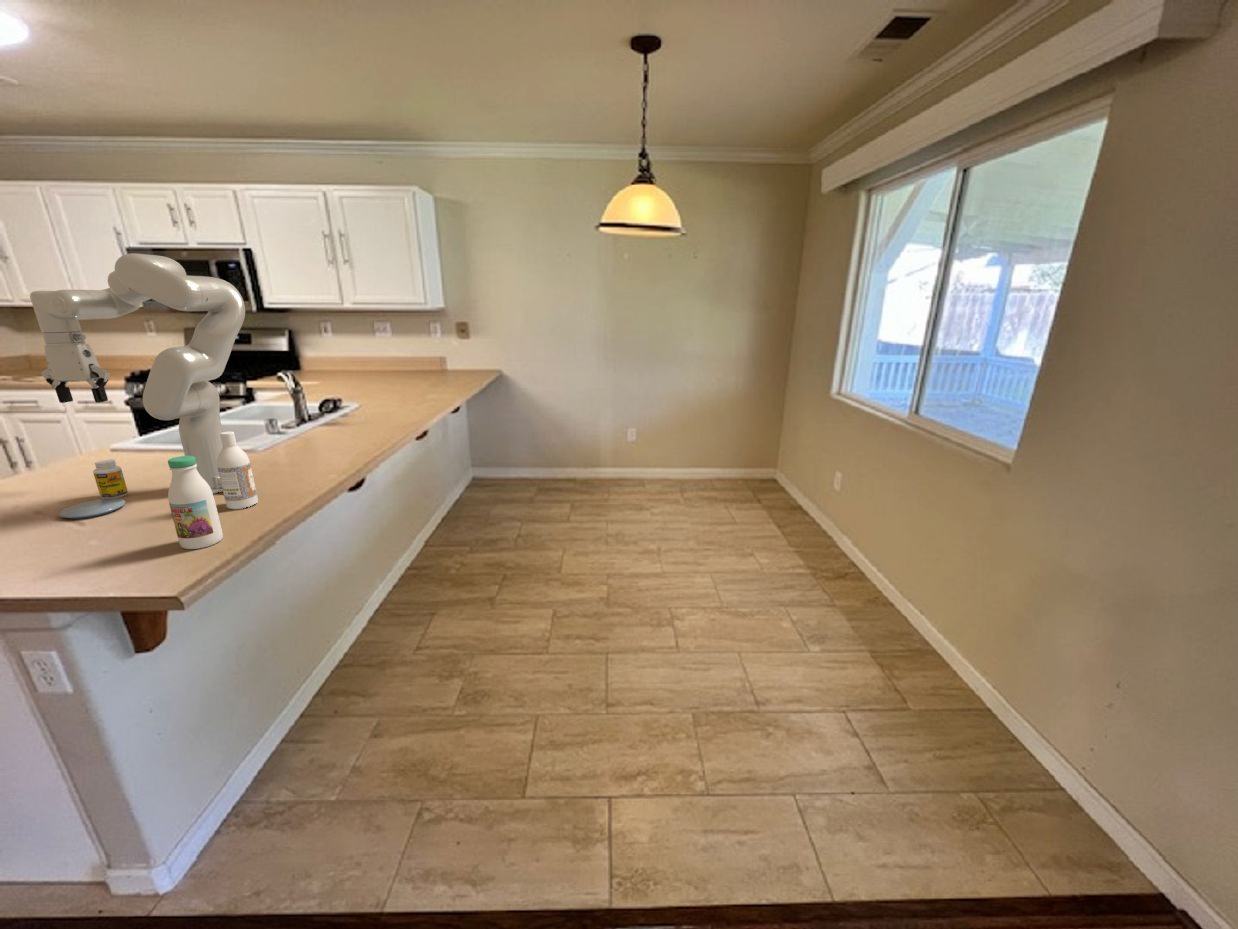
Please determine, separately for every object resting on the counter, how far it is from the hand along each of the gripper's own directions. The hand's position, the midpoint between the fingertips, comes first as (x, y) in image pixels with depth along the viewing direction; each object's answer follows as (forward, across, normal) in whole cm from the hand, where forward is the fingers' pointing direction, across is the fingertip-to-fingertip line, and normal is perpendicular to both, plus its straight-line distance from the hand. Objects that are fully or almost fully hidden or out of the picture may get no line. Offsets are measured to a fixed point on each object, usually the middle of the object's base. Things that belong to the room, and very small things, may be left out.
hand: (84, 401), depth 143 cm
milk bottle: (+26, -54, +37) cm, 71 cm away
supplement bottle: (+25, -9, +9) cm, 28 cm away
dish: (+25, -14, +20) cm, 35 cm away
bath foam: (+26, -48, +15) cm, 57 cm away
